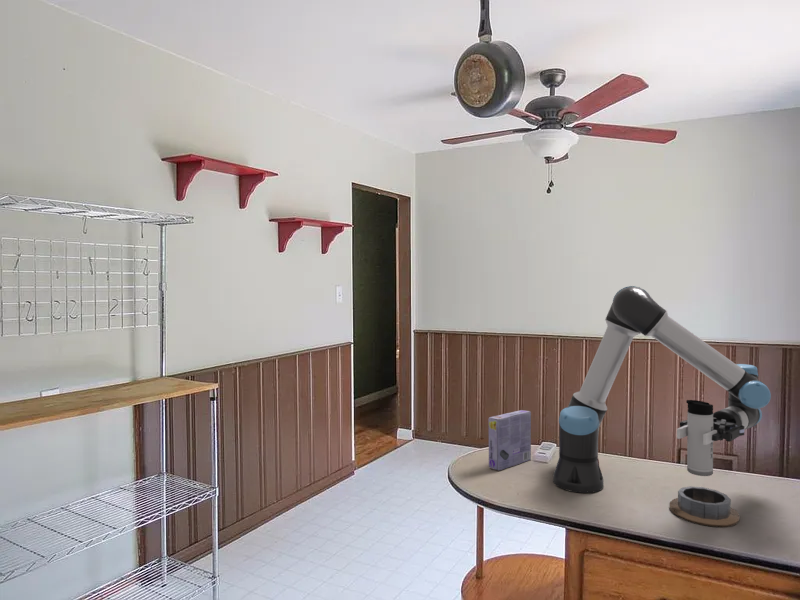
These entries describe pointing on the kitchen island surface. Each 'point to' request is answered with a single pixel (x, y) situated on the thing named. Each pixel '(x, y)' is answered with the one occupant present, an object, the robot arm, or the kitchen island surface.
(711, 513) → the ring collar
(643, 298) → the robot arm
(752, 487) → the kitchen island surface
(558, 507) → the kitchen island surface
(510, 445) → the cake pan box
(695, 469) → the travel mug
